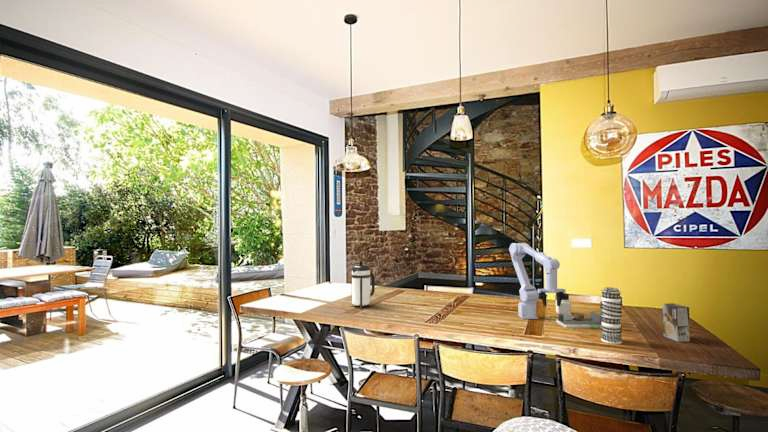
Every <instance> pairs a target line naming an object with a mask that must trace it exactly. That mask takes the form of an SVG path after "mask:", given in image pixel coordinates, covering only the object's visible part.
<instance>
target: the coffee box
mask: <svg viewBox="0 0 768 432" xmlns="http://www.w3.org/2000/svg"><path fill="white" fill-rule="evenodd" d="M662 332H663V333H662V336H663V337H665V338H667V339H670V340H673V341H675V342H678V343H680V342H681V343H682V342H683V343H685V342H691V341H690V337H691V336H690V333H691V331H690V307H689V306H685V305H681V304H678V303H672V302H670V303H662Z"/></svg>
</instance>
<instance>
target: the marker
mask: <svg viewBox="0 0 768 432" xmlns="http://www.w3.org/2000/svg"><path fill="white" fill-rule="evenodd" d="M573 318H576V320H574V321H584V318H585V315H583V314H582V313H573Z"/></svg>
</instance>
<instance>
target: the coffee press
mask: <svg viewBox="0 0 768 432" xmlns="http://www.w3.org/2000/svg"><path fill="white" fill-rule="evenodd" d="M363 263H364V262H363V260H359V262H358V264H354V265H352V266H351V269H350V270H351V302H350V304H352V306H359V308H360V310H361V309H363V306H367V305H369V306H370V307H373V302H371V300H372V299H371V297H372V296H373V295H374V294H375V286H376V285H375V281H376V280H375V275H374V274H373V273H372V272H371V269H372V268H371V267H370V265H369V264H365V263H364V264H363ZM370 303H371V304H370Z"/></svg>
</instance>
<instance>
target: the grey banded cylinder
mask: <svg viewBox="0 0 768 432" xmlns="http://www.w3.org/2000/svg"><path fill="white" fill-rule="evenodd" d="M621 293H622V292H621V291H620V290H619V289H618V288H616V287H610V286H607V287H603V289H602V290H601V301H600V302H599V304H600V305H599V307H601V308H602V309H601V311H600V315H601V316H602V325H601V327H602V328H600V340H601V342H603V343H607V344H612V345H620V344H622V340H623V339H622V337H623V335H622V333H623V332H622V330H623V328H622V324H621V319H622V317H623V316H622V315H621V314H622V313H623V311H622V310H623V308H622V306H623V300H621V299H622V298H621Z"/></svg>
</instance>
